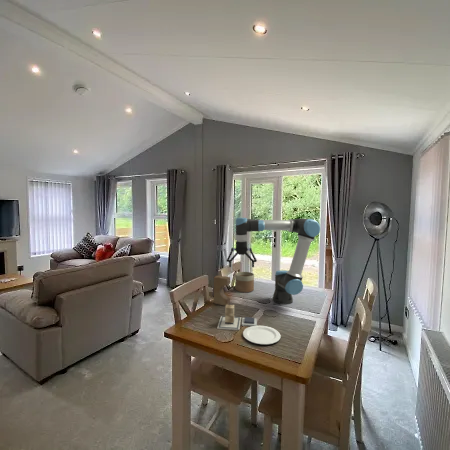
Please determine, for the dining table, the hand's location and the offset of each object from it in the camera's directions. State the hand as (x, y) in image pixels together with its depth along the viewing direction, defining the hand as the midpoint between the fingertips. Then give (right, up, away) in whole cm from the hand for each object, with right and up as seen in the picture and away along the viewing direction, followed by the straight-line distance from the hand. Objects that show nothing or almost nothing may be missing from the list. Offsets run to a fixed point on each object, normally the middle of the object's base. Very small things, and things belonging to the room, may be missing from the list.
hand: (241, 272), depth 177 cm
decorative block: (-14, -26, +16) cm, 33 cm away
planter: (+5, -24, +47) cm, 53 cm away
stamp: (-8, -28, -16) cm, 33 cm away
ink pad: (+4, -29, -15) cm, 33 cm away
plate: (+9, -31, -31) cm, 45 cm away
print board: (-8, -29, -16) cm, 34 cm away
